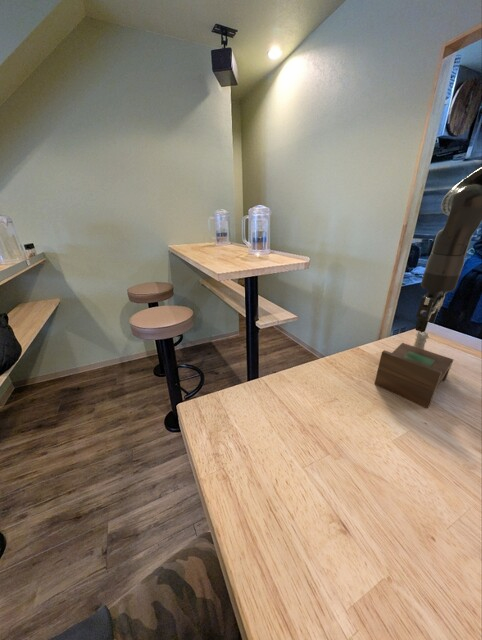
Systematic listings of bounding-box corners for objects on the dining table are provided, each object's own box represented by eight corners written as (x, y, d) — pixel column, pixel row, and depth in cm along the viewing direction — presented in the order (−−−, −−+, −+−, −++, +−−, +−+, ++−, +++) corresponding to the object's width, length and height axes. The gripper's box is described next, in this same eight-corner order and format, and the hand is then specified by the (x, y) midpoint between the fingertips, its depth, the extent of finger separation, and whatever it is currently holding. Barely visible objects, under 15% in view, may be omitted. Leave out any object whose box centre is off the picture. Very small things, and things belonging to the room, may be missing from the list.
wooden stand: (397, 359, 75) (405, 330, 71) (446, 378, 67) (458, 346, 63) (374, 384, 66) (381, 351, 62) (427, 408, 58) (440, 373, 54)
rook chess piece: (414, 351, 79) (421, 328, 76) (428, 358, 76) (436, 335, 72) (403, 353, 78) (410, 331, 75) (417, 361, 74) (424, 337, 71)
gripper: (453, 279, 59) (432, 339, 66) (466, 268, 67) (447, 322, 74) (416, 273, 64) (401, 329, 71) (433, 264, 72) (418, 315, 79)
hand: (424, 326), depth 72 cm, fingers open, 8 cm apart
